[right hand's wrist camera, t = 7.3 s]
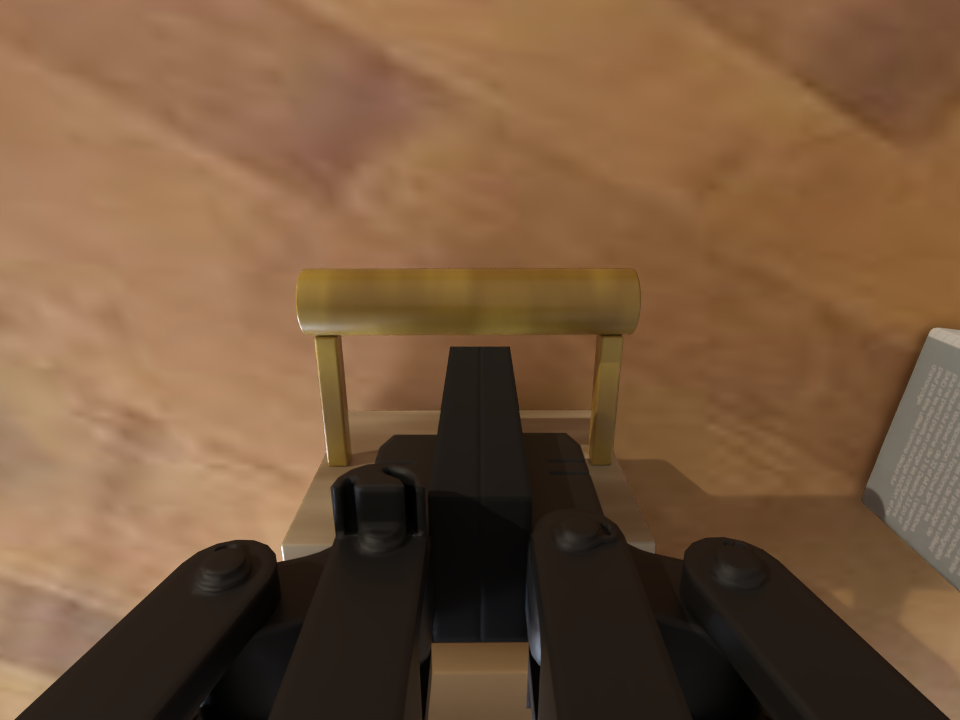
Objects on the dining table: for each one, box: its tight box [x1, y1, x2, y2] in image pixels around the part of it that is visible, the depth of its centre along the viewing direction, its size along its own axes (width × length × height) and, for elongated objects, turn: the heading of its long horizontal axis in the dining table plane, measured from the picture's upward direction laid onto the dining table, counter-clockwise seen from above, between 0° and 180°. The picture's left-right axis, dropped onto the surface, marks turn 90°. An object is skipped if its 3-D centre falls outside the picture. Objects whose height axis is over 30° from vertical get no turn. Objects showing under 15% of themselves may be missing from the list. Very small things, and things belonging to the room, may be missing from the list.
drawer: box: [281, 268, 656, 643], centre depth 18 cm, size 21×9×7 cm, turn 0°
